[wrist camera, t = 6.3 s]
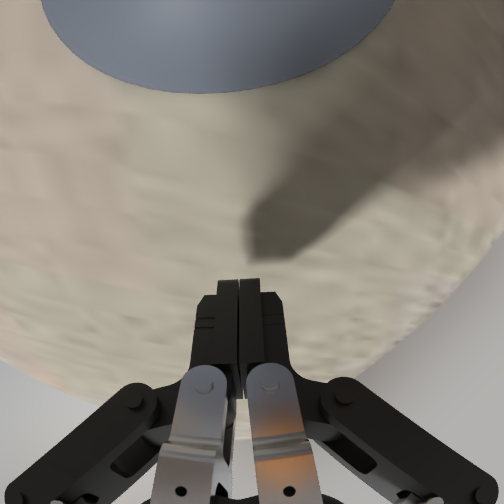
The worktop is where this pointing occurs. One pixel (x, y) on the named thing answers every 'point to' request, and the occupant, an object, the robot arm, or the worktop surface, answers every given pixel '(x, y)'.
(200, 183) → the worktop surface
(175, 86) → the disc
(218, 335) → the robot arm
